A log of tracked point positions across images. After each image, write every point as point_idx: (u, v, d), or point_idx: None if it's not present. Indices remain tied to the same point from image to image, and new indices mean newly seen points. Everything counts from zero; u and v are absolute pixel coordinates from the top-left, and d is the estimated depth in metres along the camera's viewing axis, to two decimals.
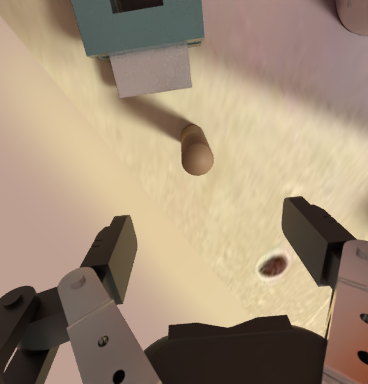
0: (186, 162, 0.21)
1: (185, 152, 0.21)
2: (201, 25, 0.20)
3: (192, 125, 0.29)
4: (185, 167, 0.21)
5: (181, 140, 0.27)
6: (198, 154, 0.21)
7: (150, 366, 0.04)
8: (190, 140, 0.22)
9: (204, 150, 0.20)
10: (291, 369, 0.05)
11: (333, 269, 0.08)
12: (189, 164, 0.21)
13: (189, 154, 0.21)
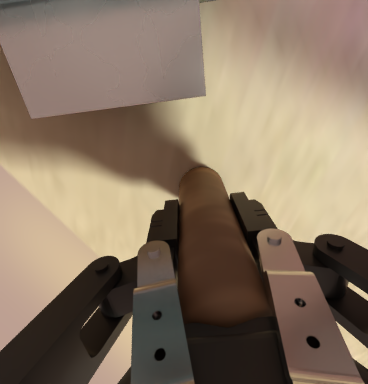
0: None
1: (189, 316, 0.06)
2: None
3: (201, 169, 0.14)
4: None
5: (179, 207, 0.13)
6: (232, 321, 0.06)
7: (188, 360, 0.05)
8: (203, 247, 0.08)
9: (254, 311, 0.06)
10: None
11: (254, 255, 0.09)
12: None
13: (202, 321, 0.06)
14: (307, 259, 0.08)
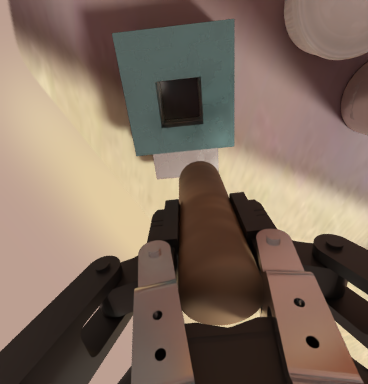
0: (191, 301, 0.08)
1: (188, 281, 0.07)
2: (232, 138, 0.24)
3: (200, 163, 0.15)
4: (188, 310, 0.08)
5: (179, 197, 0.14)
6: (224, 285, 0.07)
7: (189, 361, 0.04)
8: (200, 227, 0.09)
9: (243, 276, 0.07)
10: None
11: (253, 255, 0.09)
12: (200, 305, 0.08)
13: (199, 285, 0.07)
14: (306, 259, 0.08)
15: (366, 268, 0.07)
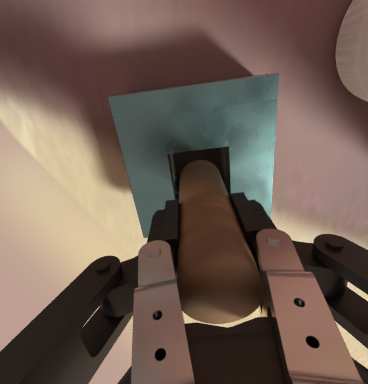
0: (190, 299, 0.08)
1: (186, 279, 0.07)
2: (268, 215, 0.19)
3: (200, 162, 0.15)
4: (187, 309, 0.08)
5: (179, 196, 0.14)
6: (223, 283, 0.07)
7: (189, 360, 0.05)
8: (199, 226, 0.09)
9: (241, 274, 0.07)
10: None
11: (253, 255, 0.09)
12: (199, 304, 0.08)
13: (198, 284, 0.07)
14: (306, 259, 0.08)
15: (366, 268, 0.07)
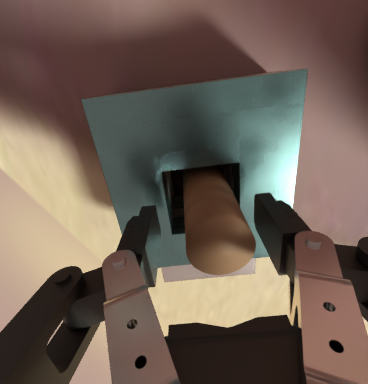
0: (196, 252, 0.10)
1: (194, 234, 0.09)
2: None
3: None
4: (194, 261, 0.10)
5: (183, 181, 0.16)
6: (223, 238, 0.09)
7: (170, 360, 0.05)
8: (202, 198, 0.11)
9: (237, 229, 0.09)
10: (291, 369, 0.05)
11: (288, 258, 0.09)
12: (203, 257, 0.10)
13: (203, 238, 0.09)
14: (350, 263, 0.07)
15: None
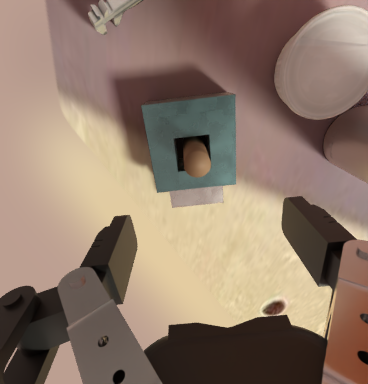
0: (188, 166, 0.25)
1: (187, 158, 0.25)
2: (234, 178, 0.31)
3: None
4: (187, 170, 0.25)
5: (183, 146, 0.31)
6: (198, 159, 0.25)
7: (150, 366, 0.04)
8: (191, 147, 0.26)
9: (203, 156, 0.24)
10: (291, 369, 0.05)
11: (333, 269, 0.08)
12: (190, 168, 0.25)
13: (190, 159, 0.25)
14: None
15: None
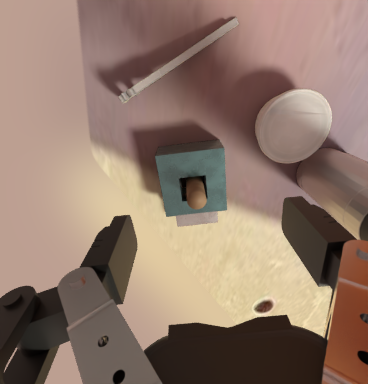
0: (190, 201, 0.34)
1: (189, 196, 0.34)
2: (225, 205, 0.40)
3: None
4: (189, 204, 0.35)
5: (186, 181, 0.40)
6: (197, 197, 0.34)
7: (150, 366, 0.04)
8: (192, 186, 0.36)
9: (201, 194, 0.34)
10: (291, 369, 0.05)
11: (333, 269, 0.08)
12: (192, 203, 0.34)
13: (191, 197, 0.34)
14: None
15: None
